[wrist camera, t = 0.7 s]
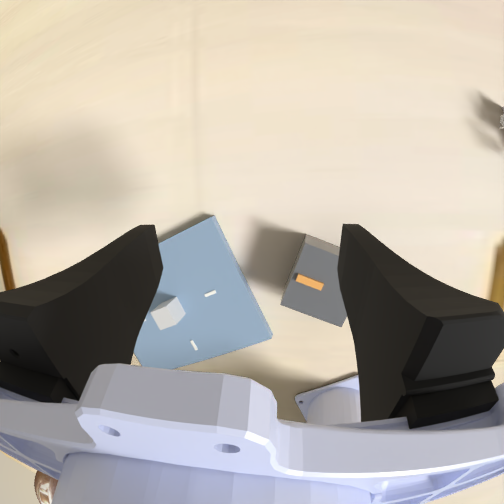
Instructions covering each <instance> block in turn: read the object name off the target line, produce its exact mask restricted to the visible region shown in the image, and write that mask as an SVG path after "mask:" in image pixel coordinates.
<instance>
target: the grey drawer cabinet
mask: <svg viewBox="0 0 504 504" xmlns="http://www.w3.org/2000/svg"><path fill="white" fill-rule="evenodd" d="M339 251H340V247H338V246H335V245H333V244H330V243H328V242H325V241H323V240H320V239H317V238H315V237H312V236H310V235H307V234H306V235H305V238H304V241H303V243H302V246H301V248H300V251H299V253H298V256H297V258H296V261H295V263H294V266H293V268H292V271H291V273H290V276H289V278H288V281H287V283H286V286H285V288H284V292H283V296H282V300H281V304H280V305H283V306H285V307H288V308H291V309H293V310H296V311H299V312H301V313H304V314H307V315H309V316H312V317H315V318H317V319H320V320H323V321H326V322H328V323H331V324H334V325H337V326H339V327H342V325H343V323H344V321H345V319H346V317H347V313H346V310H345V306H344V302H343V299H342V295H341V291H340V286H339V279H338V272H337V266H338V259H339Z"/></svg>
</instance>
